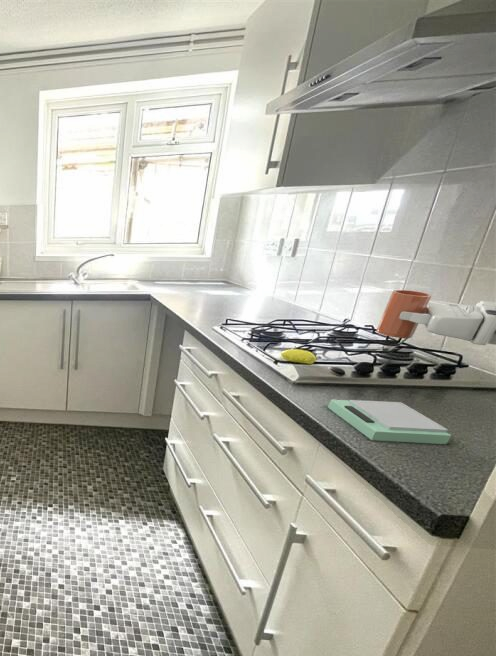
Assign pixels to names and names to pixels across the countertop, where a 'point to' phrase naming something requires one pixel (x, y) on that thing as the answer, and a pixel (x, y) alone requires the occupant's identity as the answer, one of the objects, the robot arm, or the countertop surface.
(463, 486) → the countertop surface
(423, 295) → the orange mug
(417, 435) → the scale
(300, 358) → the lemon
